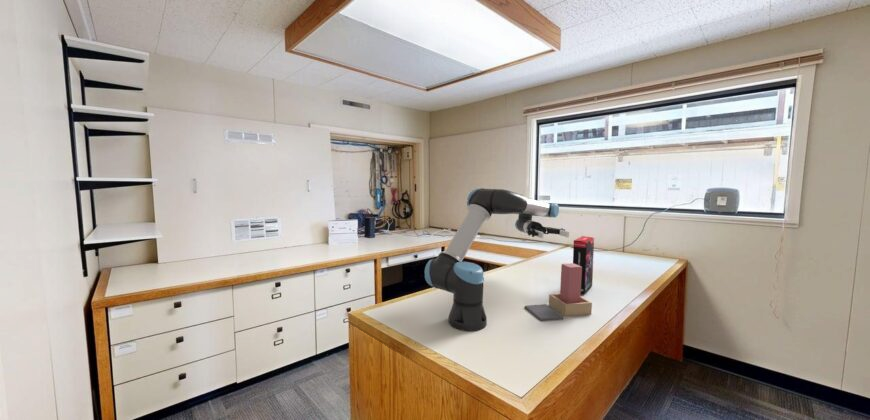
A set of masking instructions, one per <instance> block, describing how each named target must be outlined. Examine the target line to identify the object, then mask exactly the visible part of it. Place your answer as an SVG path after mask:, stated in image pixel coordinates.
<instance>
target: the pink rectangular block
mask: <svg viewBox="0 0 870 420" xmlns="http://www.w3.org/2000/svg"><path fill="white" fill-rule="evenodd" d="M560 270H561V271H560V272H561V273H560V285H559V286H560V290H559V294H560V300H561V301H563V302H564V303H566V304H570V303H580V296H581V295H582V294H581V278H582V267H581V266H579V265H576V264H574V263H573V262H572V263H561V269H560ZM581 297H582V296H581Z"/></svg>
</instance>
